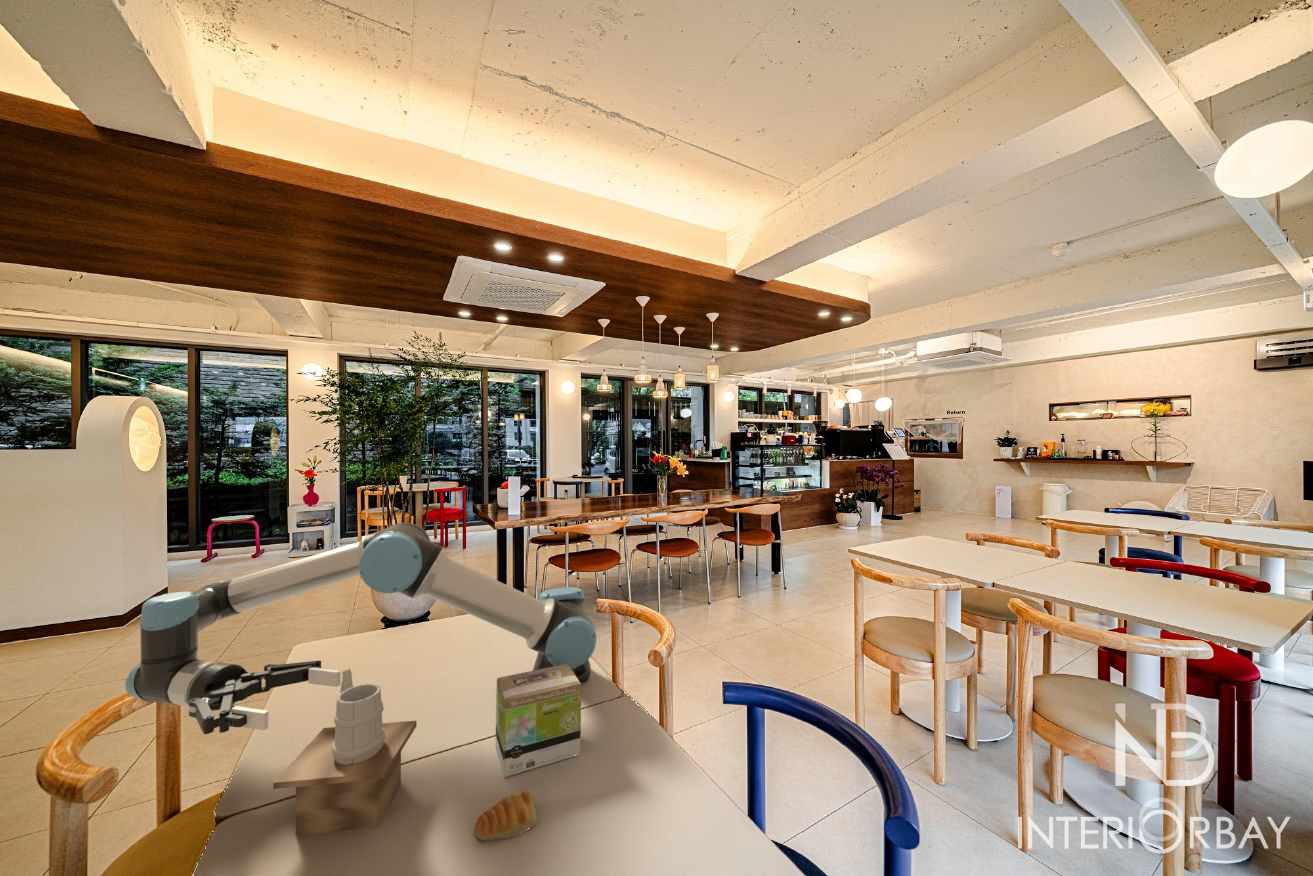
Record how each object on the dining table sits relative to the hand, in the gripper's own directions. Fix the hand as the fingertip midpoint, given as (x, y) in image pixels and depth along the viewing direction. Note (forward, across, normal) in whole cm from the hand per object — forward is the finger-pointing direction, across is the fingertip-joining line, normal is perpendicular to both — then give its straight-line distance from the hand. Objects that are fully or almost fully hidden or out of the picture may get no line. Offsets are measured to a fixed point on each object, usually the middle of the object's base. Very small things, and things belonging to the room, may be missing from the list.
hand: (305, 698), depth 83 cm
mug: (+10, -1, -8) cm, 12 cm away
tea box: (+34, -20, -18) cm, 43 cm away
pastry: (+38, -2, -18) cm, 42 cm away
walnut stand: (+10, 0, -18) cm, 20 cm away
